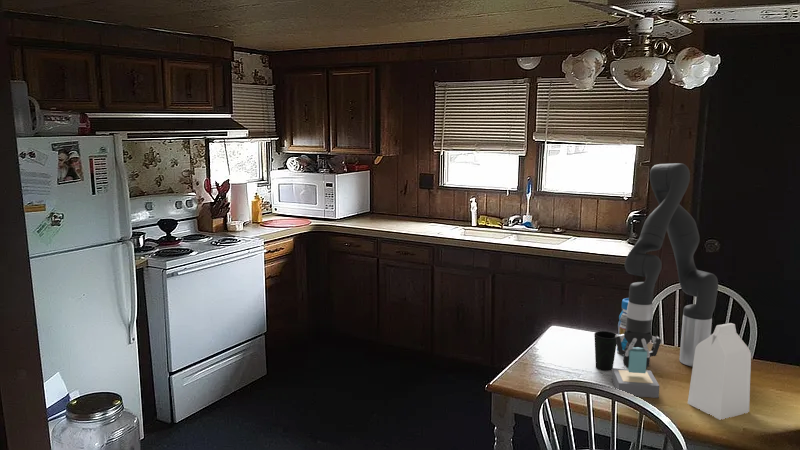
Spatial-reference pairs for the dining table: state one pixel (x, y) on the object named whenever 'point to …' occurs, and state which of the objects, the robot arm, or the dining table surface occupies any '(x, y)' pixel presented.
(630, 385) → the plinth
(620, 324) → the beverage bottle
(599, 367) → the cup
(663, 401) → the dining table surface
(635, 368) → the teal block
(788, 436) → the dining table surface
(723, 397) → the milk
